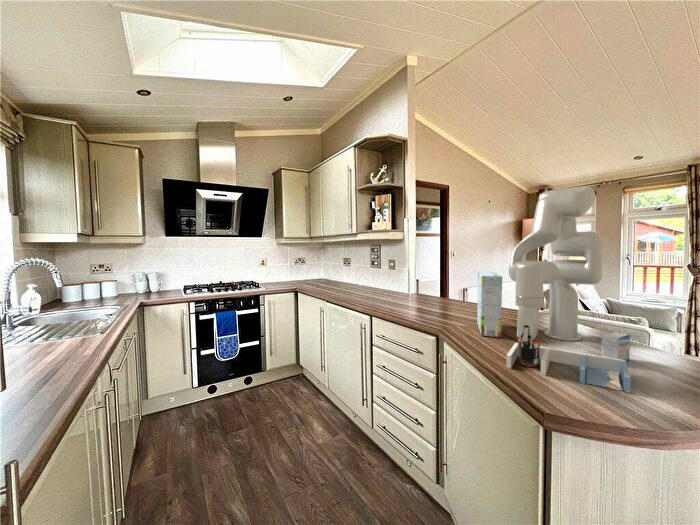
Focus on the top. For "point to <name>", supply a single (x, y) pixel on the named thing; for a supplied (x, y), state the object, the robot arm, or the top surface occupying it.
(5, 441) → the top surface
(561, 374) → the top surface
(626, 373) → the organizer
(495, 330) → the snack box
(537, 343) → the supplement bottle
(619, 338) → the medicine box
